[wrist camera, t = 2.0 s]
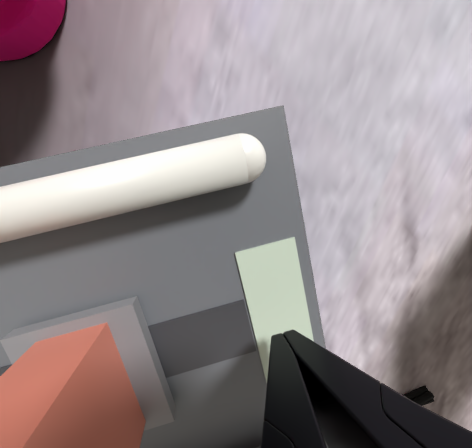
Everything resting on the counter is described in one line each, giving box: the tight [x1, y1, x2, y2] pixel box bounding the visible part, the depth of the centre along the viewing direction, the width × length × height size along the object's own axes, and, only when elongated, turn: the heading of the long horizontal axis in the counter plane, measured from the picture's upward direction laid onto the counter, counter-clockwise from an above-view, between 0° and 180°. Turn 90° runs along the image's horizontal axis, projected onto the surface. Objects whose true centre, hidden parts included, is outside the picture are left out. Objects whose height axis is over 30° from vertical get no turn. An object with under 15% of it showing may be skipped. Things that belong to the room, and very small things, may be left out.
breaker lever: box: [0, 296, 176, 448], centre depth 7 cm, size 4×5×5 cm
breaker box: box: [0, 105, 329, 448], centre depth 11 cm, size 18×16×6 cm
